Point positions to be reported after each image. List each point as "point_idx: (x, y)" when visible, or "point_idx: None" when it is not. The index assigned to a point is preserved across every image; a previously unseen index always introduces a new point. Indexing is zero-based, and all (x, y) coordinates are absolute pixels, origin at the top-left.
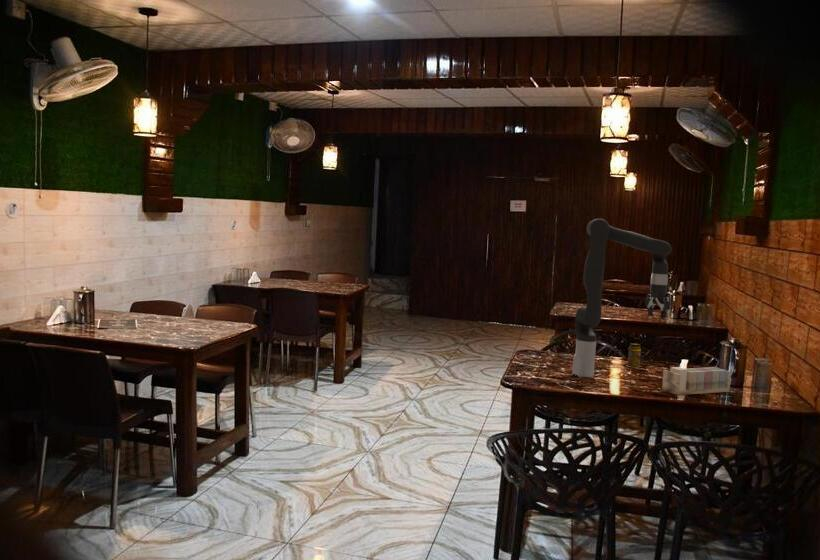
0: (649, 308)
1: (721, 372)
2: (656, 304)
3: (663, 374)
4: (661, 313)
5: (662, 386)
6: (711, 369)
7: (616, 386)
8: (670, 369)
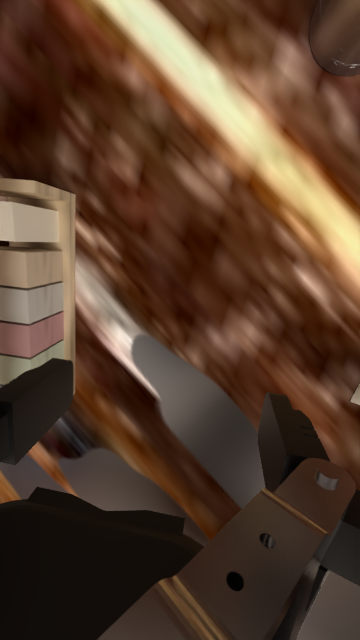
0: (285, 454)
1: None
2: (80, 500)
3: (43, 184)
4: (21, 380)
5: (68, 192)
6: (2, 372)
7: (152, 43)
8: (18, 203)
